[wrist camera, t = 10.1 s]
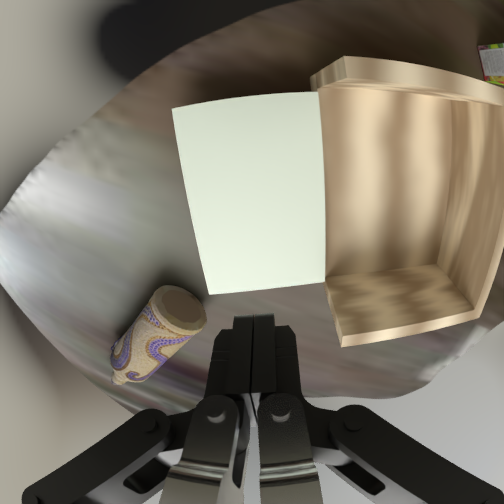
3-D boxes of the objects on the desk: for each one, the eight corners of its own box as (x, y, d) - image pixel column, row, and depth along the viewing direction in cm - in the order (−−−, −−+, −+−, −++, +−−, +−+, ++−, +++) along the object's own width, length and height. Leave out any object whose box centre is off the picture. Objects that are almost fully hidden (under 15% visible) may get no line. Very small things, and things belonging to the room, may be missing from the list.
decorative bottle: (164, 271, 34) (147, 305, 28) (212, 304, 36) (204, 341, 30) (101, 357, 44) (88, 385, 38) (135, 378, 46) (125, 406, 40)
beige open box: (444, 89, 22) (518, 94, 11) (432, 260, 32) (479, 317, 21) (309, 77, 23) (343, 56, 12) (319, 272, 33) (341, 347, 23)
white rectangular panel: (317, 91, 20) (171, 108, 20) (324, 281, 29) (209, 294, 29) (312, 93, 22) (177, 108, 22) (320, 271, 30) (211, 283, 31)
